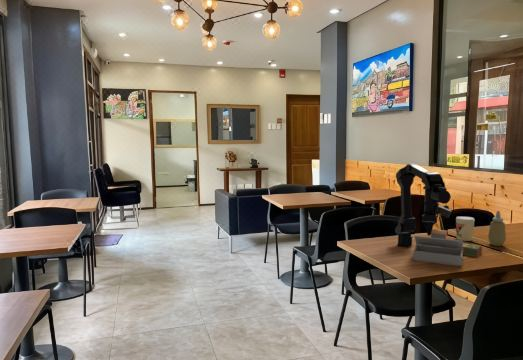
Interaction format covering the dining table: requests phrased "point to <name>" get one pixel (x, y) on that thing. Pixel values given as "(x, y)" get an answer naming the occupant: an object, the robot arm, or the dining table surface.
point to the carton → (471, 249)
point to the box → (438, 255)
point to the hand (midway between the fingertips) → (429, 233)
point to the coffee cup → (464, 228)
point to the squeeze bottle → (497, 231)
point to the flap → (439, 240)
